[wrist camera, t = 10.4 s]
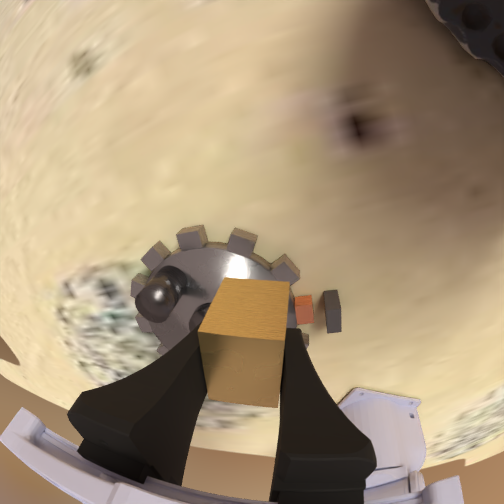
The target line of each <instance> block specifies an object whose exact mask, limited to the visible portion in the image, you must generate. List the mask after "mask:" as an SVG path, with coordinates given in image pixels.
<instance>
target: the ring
mask: <svg viewBox="0 0 504 504" xmlns="http://www.w3.org/2000/svg"><path fill="white" fill-rule="evenodd" d="M425 2H426V3H427V5H428V7H429V8H430V10H431V12H432V13H433V15H434V16H435V18H436V19H437V20H438V21H439V22H442V23H443V24H444V25H445V26H446V27H447V28H448V29H449V31H450V32H451V33H452V34H453V36H454V37H455V38H456V39H457V41H458V42H459V43H460V45H461V46H462V47H463V49H464V50H465V51H467V52H468V53H469V54H470V55H471V56H472V57H474V58H475V59H482V60H484V61H486V62H488V63H489V64H490V65H492V66H493V67H494V68H495V69H496V70H497V71H498V72H499V73H500V74H501V75H502V77H503V78H504V0H425Z"/></svg>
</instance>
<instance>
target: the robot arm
mask: <svg viewBox="0 0 504 504" xmlns="http://www.w3.org/2000/svg"><path fill="white" fill-rule="evenodd" d="M201 323H202V322H201ZM201 323H200V324H198V325H197V326H196V327H195V328H194V329H193V330H192V331H191V332H190V333H189V334H188V335H187V336H186V337H185V338H183V339H182V340H181V341H180V342H179V343H178V344H176V345H175V346H174V347H173V348H172V349H170V350H169V351H168V352H167V353H165V354H164V355H163V356H161V357H160V358H159V359H157V360H156V361H154V362H153V363H151V364H150V365H148V366H146V367H145V368H143V369H141V370H139V371H137V372H135V373H134V374H132V375H130V376H128V377H126V378H123V379H121V380H119V381H116V382H114V383H111V384H108V385H105V386H102V387H99V388H96V389H92V390H88V391H84V392H82V393H81V394H80V396H79V397H78V398H77V400H76V401H75V403H74V404H73V406H72V407H71V408H70V410H69V411H68V414H67V415H68V418H69V421H70V422H71V424H72V425H73V426H74V427H75V429H76V430H77V431H78V432H79V433H80V435H81V436H82V437H83V438H84V440H83V441H82V443H81V445H80V446H77V445H75V444H74V443H72V442H70V441H68V440H66V439H65V438H63V437H61V436H59V435H58V434H56V433H54V432H53V431H51V430H49V429H48V428H46V426H45V425H44V424H43V422H42V421H41V420H40V419H39V418H38V417H36V416H35V415H34V414H32V413H31V412H29V411H28V410H26V409H25V408H23V407H22V408H21V409H20V410H19V412H18V413H17V414H16V415H15V417H14V418H13V420H12V421H11V422H10V424H9V425H8V426H7V428H6V429H5V431H4V432H3V433H2V435H1V436H0V441H1V442H2V443H3V444H4V445H5V446H6V447H7V448H8V449H9V450H10V451H12V453H14V454H15V455H16V456H17V457H18V458H19V459H20V460H21V461H23V462H24V463H25V464H26V465H28V466H29V467H30V468H31V469H33V470H34V471H35V472H37V473H38V474H39V475H41V476H42V477H43V478H45V479H46V480H48V481H49V482H51V483H52V484H53V485H55V486H56V487H58V488H59V489H61V490H62V491H64V492H65V493H67V494H69V495H71V496H72V497H74V498H75V499H77V500H79V501H80V502H82V503H84V504H464V500H463V495H462V489H461V484H460V479H459V476H458V475H456V476H453V477H450V478H446V479H443V480H439V481H436V482H434V483H431V484H429V485H428V486H426V487H425V483H424V478H423V475H422V473H420V472H419V470H420V469H421V467H422V466H423V463H424V461H425V457H426V444H425V439H424V435H423V431H422V427H421V423H420V419H419V415H418V412H417V408H416V407H418V406H419V405H420V404H421V401H420V399H414V398H408V397H402V396H397V395H391V394H386V393H381V392H376V391H371V390H367V389H362V388H355V389H353V390H352V391H351V392H350V393H349V394H348V395H347V396H346V397H345V398H344V399H343V400H342V401H341V402H340V403H339V404H338V405H337V404H336V403H335V402H334V400H333V399H332V397H331V396H330V395H329V393H328V392H327V390H326V388H325V387H324V385H323V383H322V382H321V380H320V378H319V376H318V374H317V372H316V371H315V368H314V366H313V364H312V362H311V360H310V357H309V355H308V352H307V350H306V347H305V344H304V340H303V336H302V331H301V330H300V329H297V328H286V335H285V345H284V356H283V365H282V375H281V384H280V426H279V435H278V443H277V451H276V458H275V466H274V472H273V479H272V485H271V492H270V497H269V502H266V501H256V500H248V499H240V498H234V497H228V496H222V495H217V494H212V493H207V492H202V491H198V490H194V489H190V488H186V487H182V486H181V485H182V479H183V475H184V469H185V464H186V460H187V456H188V451H189V447H190V443H191V439H192V435H193V431H194V428H195V424H196V421H197V417H198V414H199V411H200V409H201V406H202V404H203V401H204V399H205V397H206V394H207V386H206V381H205V375H204V369H203V363H202V357H201V351H200V344H199V338H198V329H199V327H200V325H201Z"/></svg>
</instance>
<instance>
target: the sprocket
mask: <svg viewBox="0 0 504 504" xmlns="http://www.w3.org/2000/svg"><path fill="white" fill-rule="evenodd" d="M176 236H177V239H178V243H179V246H180V248H179V249H177V250H175V251H174V252H172V253H171V252H170V251H169V250H168V249H167V248H166V247H165V246H164V245H163V244H162V242H161V241H158V242H157V243H156V244H155V245H154V246H153V247H152V248H151V249H150V250H149V251H148V252H147V253H146V254H145V255H144V256H143V257H142V259H141V261H142V262H143V263H144V264H145V265H146V266H147V267H148V268H149V269H150V270H151V271H153V270H154V271H153V272H152V273H151V275H150V277H148V276H145V275H143V274H140V273H138V274H137V275H136V276H135V277H134V278H133V279H132V283H131V296H132V297H134V298H135V305H136V308H137V310H138V311H139V313H138V314H137V315H136V317H135V318H136V320H137V323H138V325H139V327H140V329H141V331H142V332H154V333H155V335H156V336H157V337H158V339H159V340H160V341H161V344H160V345H159V347H158V349H157V351H158V352H159V353H160V354H161V355H164V354H165V353H167V352H168V351H169V350H170V349H172V348H173V347H174V346H175V345H176V344H178V343H179V342H180V341H181V340H182V339H183V338H185V337H186V336H187V335H188V334H189V333H190V332H191V331H192V330H193V329H194V328H195V327H196V326H197V325H198V324H200V323H201V322H202V321H203V319H204V317H205V315H206V313H207V311H208V309H209V307H210V305H211V303H212V301H213V299H214V297H215V295H216V293H217V291H218V289H219V287H220V285H221V283H222V281H223V279H224V277H229V278H242V279H255V280H269V281H284V282H290V285H292V284H293V283H295V282H296V281H298V280H299V279H300V270H299V269H298V268H297V267H296V266H295V264H294V263H293V262H292V261H291V260H290V259H289V258H288V256H287V255H286V254H284V255H283V256H281V257H280V258H279V259H277V260H276V261H274V262H273V263H272V264H270V263H269V262H267V261H266V260H265V259H263V258H262V257H260V256H259V255H257V254H255V253H253V252H252V251H253V248H254V245H255V243H256V240H257V237H258V235H255V234H252V233H249V232H247V231H244V230H241V229H238V228H234V230H233V232H232V233H231V236H230V239H229V242H228V243H222V242H208V239H207V235H206V232H205V228H204V225H199V226H193V227H188V228H183V229H181V230H180V231H179V232H178V233H177V234H176ZM307 323H314V313H313V304H312V296H311V295H309V296H300V297H295V299H294V296H293V293H292V291H291V288H290V287H289V300H288V312H287V324H286V328H296V327H297V325H298V324H307ZM302 336H303V340H304V344H305V347H306V349H307V347H308V346H309V335H308V334H305V333H302Z"/></svg>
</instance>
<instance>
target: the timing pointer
mask: <svg viewBox="0 0 504 504" xmlns="http://www.w3.org/2000/svg"><path fill="white" fill-rule="evenodd" d="M324 303H325V316H326V326H327V333H336V332H341V306H340V301H339V296H338V291H337V290H331V291H324Z"/></svg>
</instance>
